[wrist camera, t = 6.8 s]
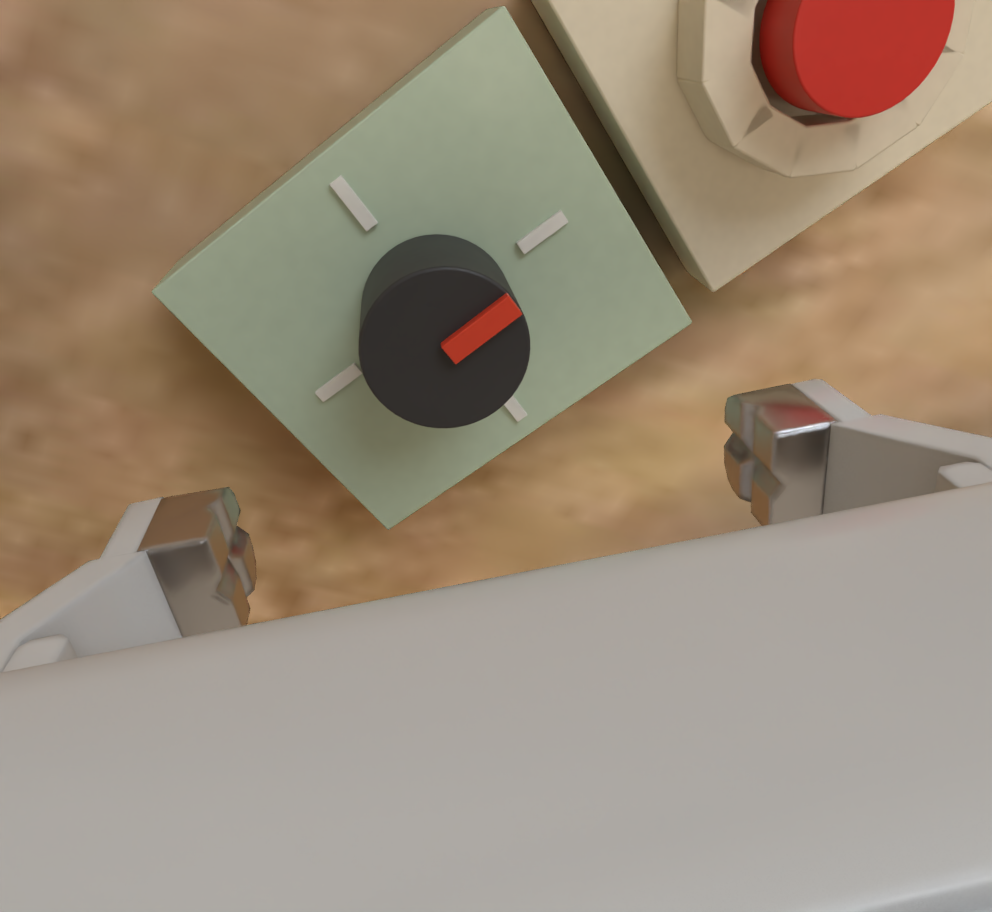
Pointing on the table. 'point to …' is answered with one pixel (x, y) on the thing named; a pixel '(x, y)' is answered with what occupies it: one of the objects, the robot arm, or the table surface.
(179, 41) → the table surface
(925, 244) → the table surface
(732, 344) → the table surface
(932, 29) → the power button
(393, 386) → the dial
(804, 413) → the robot arm
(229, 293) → the dial panel
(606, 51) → the switch box
